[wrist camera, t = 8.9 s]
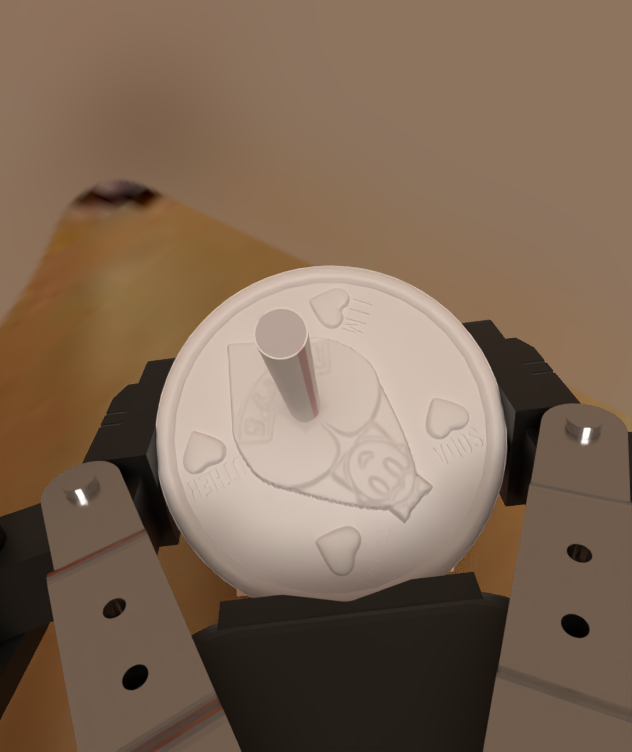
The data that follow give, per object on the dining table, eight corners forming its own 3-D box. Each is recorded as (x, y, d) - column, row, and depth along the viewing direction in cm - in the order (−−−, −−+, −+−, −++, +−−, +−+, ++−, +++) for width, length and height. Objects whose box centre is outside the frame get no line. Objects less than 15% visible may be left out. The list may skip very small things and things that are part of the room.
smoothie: (321, 342, 20) (289, -2, 6) (462, 454, 19) (786, 325, 5) (204, 477, 19) (-127, 408, 5) (345, 603, 18) (373, 919, 4)
